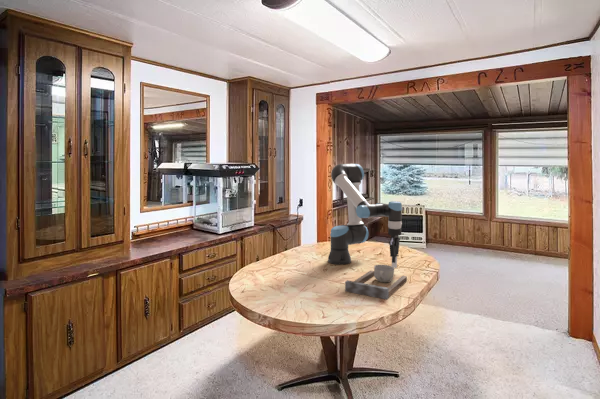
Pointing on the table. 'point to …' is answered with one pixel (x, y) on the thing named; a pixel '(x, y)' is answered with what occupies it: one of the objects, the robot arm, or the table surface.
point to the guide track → (373, 286)
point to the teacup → (383, 273)
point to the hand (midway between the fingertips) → (394, 267)
